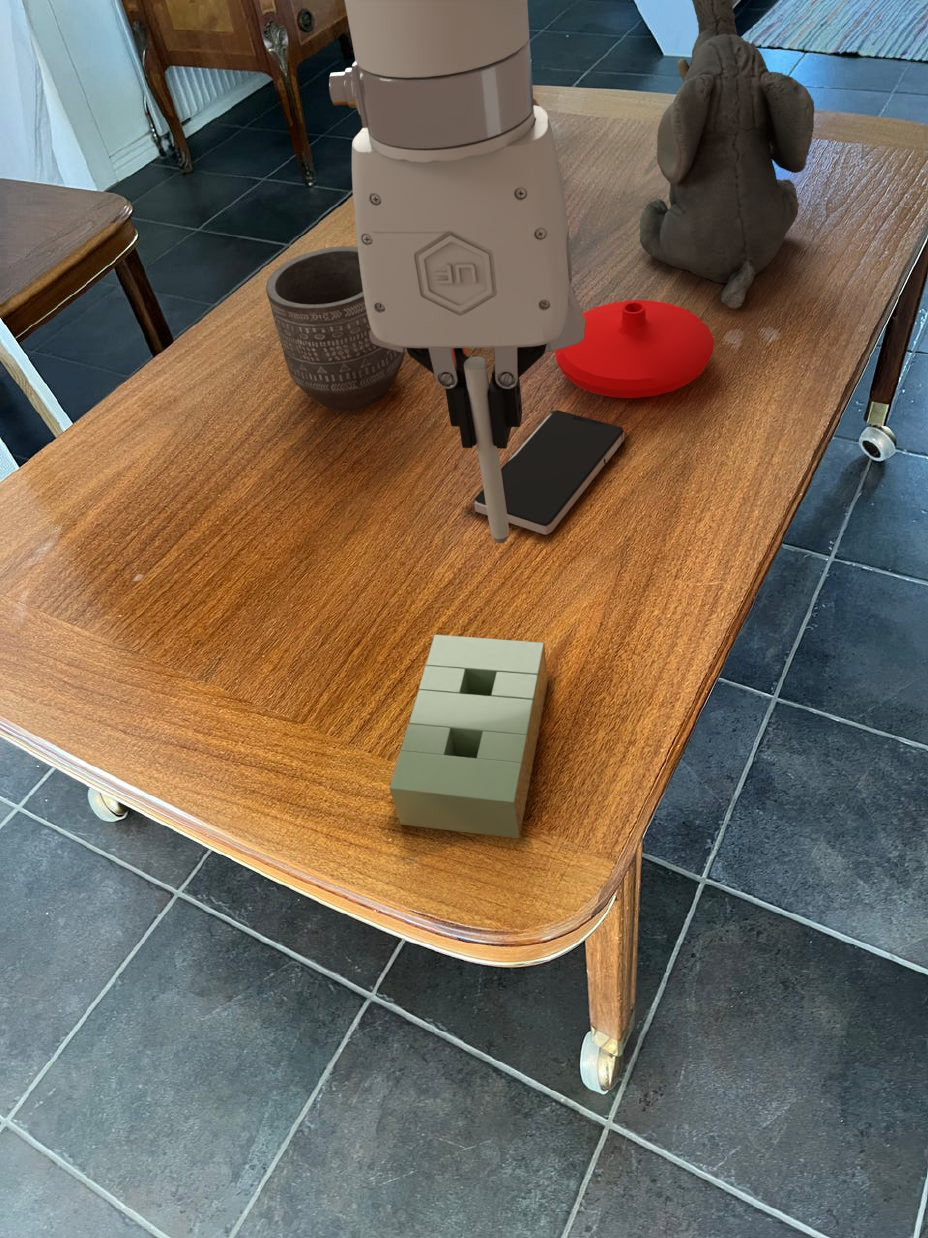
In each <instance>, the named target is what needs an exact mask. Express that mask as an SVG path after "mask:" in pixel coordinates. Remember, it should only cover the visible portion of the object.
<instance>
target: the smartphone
mask: <svg viewBox="0 0 928 1238" xmlns="http://www.w3.org/2000/svg"><path fill="white" fill-rule="evenodd" d="M624 441H625V430H624V428H623V427H622V426H619V425H616V424H612V423H611V424H610V423H608V422H604V421H600V420H597V419H592V418H590V417H586V416H582V415H578V414H574V413H571V412H567V411H563V410H559V409H557V410H553V411H550V413H549V414H548V415H547V416H546V417H545V418H544V419H543V421H542V422H541V423H539V425H538V426H537V427H536V429H535V430H534V431H533V432H532V433H531V434H530V436H529V437H528V438H527V439H526V440H525V441H524V442H523V443H522V445H520V447H519V448H518V449H517V450H516V451H515V452H514V454H513V455H512V456H511V457H510V458H509V459H508V460H507V461H506V463H505V464H504V465H503V466H502V467H501V474H502V481H503V488H504V496H505V503H506V510H507V517H508V524H512V525H515V526H518V527H521V528H524V529H527V530H529V531H532V532H536V533H539V534H542V535H548V534H550V533H552V532H553V531H554V530H555V528H556V527H557V526H558V524H559V523H560V522H561V521H562V520H563V518H564V517H565V516H566V514H568V512H569V510H570V509H571V508H572V507H573V506H574V504H575V503H576V502H577V501H578V500H579V498H580V497H581V495H582V494H583V493H584V492H585V491H586V490H587V488H588V487H589V485H590V484H591V483H592V482H593V480H594V479H595V477H596V476H597V475H598V474H599V473H600V472H601V470H602V469H603V468H604V466H605V465H606V464H607V463H608V462H609V460H610V459H611V458H612V457H613V455H614V454H615V453H616V452H617V450H618V448H619V447H620V446H621V444H622V443H623V442H624ZM473 505H474V511H475V512H476V513H479V514H482V515H485V516H488V514H487V507H486V501H485V495H484V489H482V490H481V491H480V493H478V494H477V496H476V497H475V499H474V501H473Z"/></svg>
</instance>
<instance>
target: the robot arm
mask: <svg viewBox="0 0 928 1238" xmlns="http://www.w3.org/2000/svg"><path fill="white" fill-rule="evenodd" d="M343 2H344V5H345V6H344V7H345V11H346V16H347V17H346V18H347V22H348V23H347V24H348V28H349V32H350V38H351V43H352V48H353V54H354V59H355V60H354V62H353V63H352V65H351V67H346V68H345V70H344V71H337V72H336V71H335V72H330V75H329V77H328V78H329V79H328V90H329V96H330V100H331V102H332V104H333V106H348V107H349V108H350V109H356V110H357V114H358V115H359V116H360V119H361V125H362V128H361V130H360V131H359V132H358V133H357V134H356V135H355V136H354V138H353V140H352V142H351V184H352V186H351V187H352V201H353V202H352V203H353V214H354V226H355V227H354V228H355V234H356V235H355V236H356V237H355V238H356V245H357V246H356V247H358V256H359V264H360V273H361V280H362V287H363V294H364V300H365V306H366V311H367V316H368V320H369V324H370V334H369V338H370V340H371V342H372V343H373V344H375V345H377V346H381V347H384V348H388V349H391V350H395V351H398V352H402V353H403V352H404V353H407V354H408V355H409V356H410V358H412V359H414V360H415V361H416V362H417V363H418V364H420V366H422V367H423V368H424V369H426V370H427V371H429V372H430V373H432V374H433V375H434V378H435V379H434V380H435V381H436V384H437V385H438V387H441V388H443V389H445V395H446V402H447V409H448V417H449V422H450V426H451V427H453V428H454V427H456V428H458V427H459V433H460V441H461V447H462V449H472V448H473V447H477V445H476V438H475V432H474V425H473V419H472V413H471V407H470V400H469V394H468V389H467V383H466V377H465V370H464V363H465V361H466V360H467V359H469V358H470V357H469V356H468V355H467V350H466V349H493V351H494V364H493V367H492V368H493V369H492V372H491V377H490V380H489V390H488V404H489V412H490V421H491V429H492V438H493V445H494V446H497V448H498V450H500V449H501V450H502V449H507V448H508V443H509V439H510V435H511V431H512V428H520V427H521V424H522V418H523V403H522V391H521V381H520V379H521V377H522V376H523V375H524V374H525V373H526V372H527V371H528V370H529V369H530V368H531V367H532V366H534V365H535V363H536V362H538V361H539V360H540V359H541V358H542V357H543V356H544V355H545V354H546V353H548V352H552V353H554V352H555V351H557V350H560V349H563V348H566V347H569V346H573V345H576V344H579V343H580V342H582V340H583V339H584V335H585V329H586V320H585V318H584V315H583V313H584V312H583V311H582V308H581V305H580V303H579V300H578V298H577V296H576V293H575V290H574V289H573V286H572V280H573V271H572V270H573V269H572V266H573V265H572V252H571V241H570V231H569V222H568V215H567V214H568V213H567V205H566V198H565V197H566V196H565V191H564V184H563V183H564V182H563V176H562V171H561V164H560V159H559V155H558V151H557V145H556V140H555V136H554V133H553V128H552V125H551V121H550V118H549V114H548V112H547V111H546V110H545V108H543V107H542V106H540V105H539V106H535V105H534V103H533V98H534V89H533V74H532V73H533V72H532V57H531V56H532V55H531V40H530V39H531V38H530V24H529V6H528V5H529V4H528V0H344V1H343Z"/></svg>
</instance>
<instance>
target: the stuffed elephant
mask: <svg viewBox="0 0 928 1238" xmlns="http://www.w3.org/2000/svg"><path fill="white" fill-rule="evenodd" d="M691 2H692V5H693V8H694V13H695V15H696V21H697V23H698V25H697V28H698V35H697V37H696V39H695V42H694V44H693V47H692V50H691V58H690V62H689V63H688V62H687V59H685V58H680V59H678V62H677V69H678V74H679V76H680V78H681V79H682V83H681V85H680V87H679V89H678V90H677V92H676V95H675V97H674V100H673V101H672V103H671V104H669V105H668V107H667V108H666V110H664V112H663V113H662V116H661V119H660V121H659V124H658V127H657V134H656V160H657V164H658V167H659V169H660V172H661V174H662V175H663V177H664V178H665V180H666V181H667V182H668V183H669V186H670V187H669V192H668V198H669V203H670V207H668V205H667V204H666V203H665V202H666V201H665V200H662V199H661V198H657V197H654V200H650V201H649V202H648V204H646V205H645V207H644V208H643V209H642V212H641V214H640V218H639V242H640V245H641V247H642V249H644V251H645V252H646V253H647V254H648V255H650V257H651V258H653V259H656V260H657V261H659V262H662V263H664V264H666V265H669V266H671V267H672V268H676V269H680V270H684V271H689V272H691V273H692V274H693V275H696V276H697V277H699V278H703V279H707V280H711V281H712V282H714V283H717V284H726V285H725V287H724V288H723V290H722V292H721V300H720V301H721V304H724V305H726V306H727V307H729V308H730V309H732V310H737V309H739V308H740V307H741V306H742V305H743V303H744V301H745V299H746V298H745V297H746V294H747V292H748V290H749V288H750V287H751V285H752V284H753V281H754V280H755V276H756V275H757V274H759V273H760V272H762V270H764V269H765V268H766V267H768V265H769V264H770V263H771V262H772V260H774V258H775V257H776V255H777V254H778V252H779V250H780V248H781V247H782V246H783V243H784V240H785V238H786V235H787V234H788V232H789V230H790V229H791V227H792V226H793V225H794V222H795V220H796V219H797V216H798V214H799V206H800V203H799V199H798V193H797V188H796V185H795V183H794V182H793V181H792V180H790V179H785V178H784V179H779V178H777V172H776V169H775V166H774V164H776V166H777V167H779V168H780V169H782V170H785V171H787V172H790V173H793V174H798V173H801V172H803V171H804V170H805V168H806V166H807V159H808V156H809V155H810V153H809V152H810V148H811V146H812V141H813V133H814V128H815V123H814V122H815V121H814V119H815V101H814V99H813V98H812V95H811V94H810V92H809V90H808V89H807V87H805V86H804V85H803V84H802V83H800V82H799V81H798V80H797V79H796V78H794V77H792V76H790V75H787V74H784V73H783V72H778V71H770V70H769V68H768V66H767V64H766V61H765V59H764V57H763V55H762V53H761V51H760V50H759V49H758V48H757V47H756V45H754V44H752V43H751V42H750V41H748V40H745V38H743V37H742V36H739V35H738V31H737V27H736V23H735V18H736V15H735V13H734V0H691Z"/></svg>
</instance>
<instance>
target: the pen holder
mask: <svg viewBox="0 0 928 1238" xmlns="http://www.w3.org/2000/svg"><path fill="white" fill-rule="evenodd" d="M548 679H549V678H548V667H547V656H546V643H545V642H542V641H541V642H540V641H528V640H514V639H501V638H499V639H498V638H488V637H476V636H475V637H474V636H460V635H448V634H437V633H436V634H434V635H433V638H432V641H431V645H430V648H429V652H428V655H427V658H426V662H425V666H424V667H423V672H422V675H421V678H420V682H419V685H418V689H417V693H416V696H415V699H414V703H413V706H412V710H411V714H410V717H409V720H408V724H407V726H406V729H405V733H404V736H403V740H402V744H401V747H400V751H399V754H398V758H397V761H396V764H395V767H394V771H393V774H392V778H391V782H390V785H389V789H388V790H389V791H390V792H389V793H390V795H391V798H392V801H393V804H394V808H395V810H396V814H397V818H398V821H399V824H400V825H403V826H410V827H421V828H428V829H436V830H445V831H453V832H461V833H462V832H463V833H469V834H478V835H485V836H486V835H487V836H494V837H495V836H496V837H502V838H510V839H511V838H512V839H520V838H521V831H522V826H523V821H524V815H525V810H526V803H527V799H528V794H529V788H530V782H531V777H532V771H533V764H534V760H535V754H536V749H537V742H538V737H539V732H540V727H541V722H542V716H543V711H544V705H545V701H546V700H545V699H546V694H547V688H548V682H549V680H548Z"/></svg>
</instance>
